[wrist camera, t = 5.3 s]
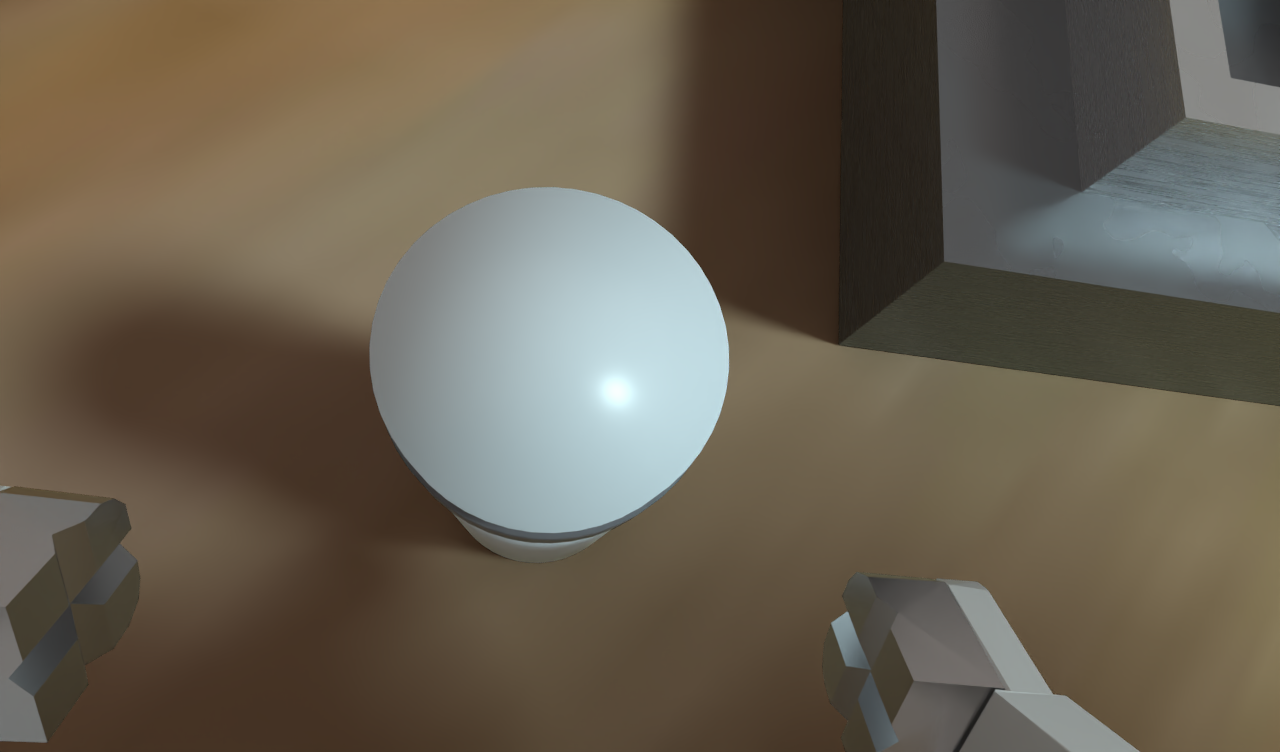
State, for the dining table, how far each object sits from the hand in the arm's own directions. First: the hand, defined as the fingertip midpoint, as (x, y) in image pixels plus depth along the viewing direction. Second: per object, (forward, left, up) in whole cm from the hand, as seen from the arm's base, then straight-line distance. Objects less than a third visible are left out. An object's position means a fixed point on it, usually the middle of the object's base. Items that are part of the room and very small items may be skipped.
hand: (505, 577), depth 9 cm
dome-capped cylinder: (0, -2, -8) cm, 8 cm away
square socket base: (-14, -12, -8) cm, 21 cm away
